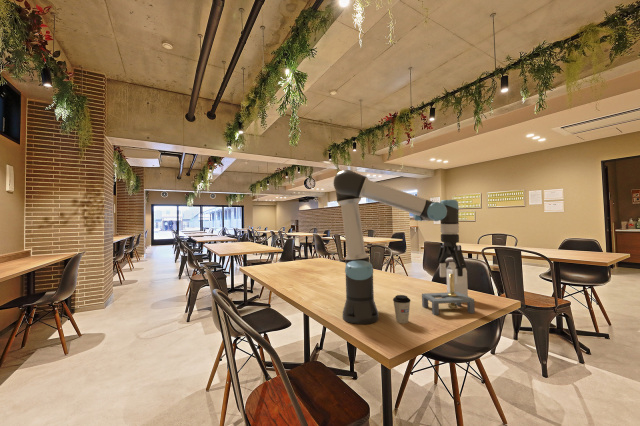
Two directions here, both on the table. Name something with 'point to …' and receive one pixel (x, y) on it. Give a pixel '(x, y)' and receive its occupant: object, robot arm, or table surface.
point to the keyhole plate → (446, 301)
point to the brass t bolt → (452, 291)
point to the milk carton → (457, 287)
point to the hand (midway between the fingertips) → (450, 280)
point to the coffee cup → (401, 308)
